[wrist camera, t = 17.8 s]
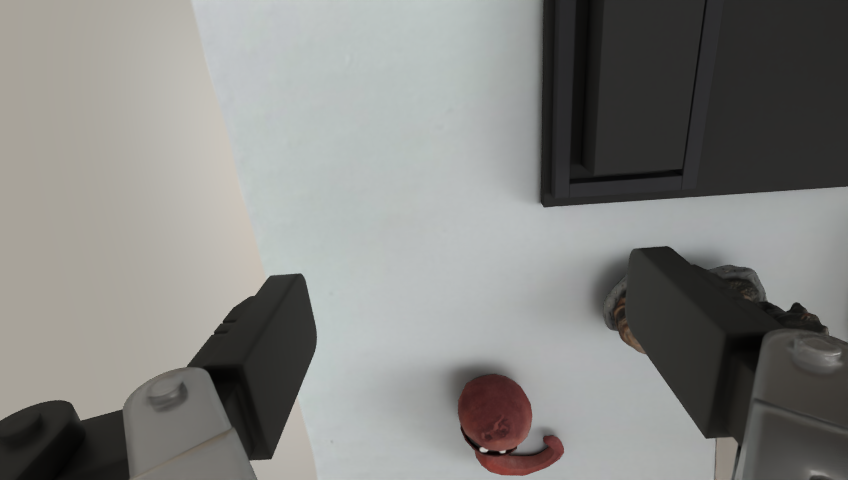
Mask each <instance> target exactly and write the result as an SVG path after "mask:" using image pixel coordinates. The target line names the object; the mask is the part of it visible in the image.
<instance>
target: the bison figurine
mask: <svg viewBox="0 0 848 480" xmlns="http://www.w3.org/2000/svg"><path fill="white" fill-rule="evenodd" d="M708 271H710V272H713V273H715V274H717V275H718V276H720V277H721V278H722V279H723V280H725V281H726V282H727V283H729V284H730V285H731V286H732V289H736V290H738V291H739V292H740V293H741V294H743V295H744V296H745V299H749V300H750V301H752V302H753V303H754V304H755V305H757V306H758V307H759V308H761V309H762V310H763V311H764V312H766V313H767V314H768V315H769V316H771V317H772V318H773V319H775V320H776V321H777V322H778V323H780V324H781V325H782V326H784V327H785V328H786V329H803V330H809V331H814V332H819V333H822V334H826V335H829V332H828V328H827V327H826V326H824V325H822V324H821V322H820V320H819V318H818V317H817V316H816V315H814V314H811V313H808V312H807V310H806V308H804V307H803V306H801V305H800V303H797V302H796V303H794V304H793V305H792V307H791V309H790V310H789V311H787V312H785V311H784V310H782V309H781V308H779V307H778V306H775V305H773V304H771V303H769V302H768V301H767V298H766V293H765V290H764V288H763V286H762V284H761V282H760V280H759V278H758V276H757V274H756V272H755V271H754V270H752V269H750V268H746V267H737V266H733V265H724V266H721V267H717V268H714V269H710V270H708ZM627 278H628V274H627V275H626V276H625V277H624V278H623V279H622V280H621V281H620V282H619V283H618V284H617V285H616V286H615V287H614V288H613V290H612V291H611V292H610V293H609V295H608V296H607V297H606V299H605V302H604V306H603V316H604V320H605V323H606V325H607V327H608V328H609V329H611V330H615V331H618V332H619V335H620V337H621V339H622V340H623V341H624V342H625V343H626V344H628V345H629V346H631V347H633V348H634V349H635V350H637V351H638V352H641V353H643V354H646V353H645V351H644V350H643V349H642V347H641V346H640V344H639V343H638V341H637V340H636V339H635V337H634V336H633V334H632V333H631V331H630V329H629V327H628V324H627V321H626V316H625V299H626V289H627Z"/></svg>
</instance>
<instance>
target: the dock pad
mask: <svg viewBox="0 0 848 480" xmlns="http://www.w3.org/2000/svg"><path fill="white" fill-rule="evenodd" d="M587 22H588V0H544V12H543V89H542V165H541V204H542V205H543V207H554V206H568V205H583V204H597V203H612V202H627V201H641V200H656V199H670V198H685V197H700V196H714V195H729V194H743V193H758V192H773V191H787V190H802V189H816V188H831V187H846V186H848V0H705V5H704V12H703V20H702V27H701V34H700V42H699V49H698V57H697V64H696V71H695V79H694V86H693V94H692V101H691V108H690V116H689V123H688V131H687V138H686V145H685V153H684V160H683V168H682V169H675V170H661V171H648V172H634V173H621V174H607V175H593V174H592V173H590V172H589V171H588V170H587V169H585V168H584V167H583V166H582V165H581V151H582V130H583V108H584V87H585V65H586V43H587Z"/></svg>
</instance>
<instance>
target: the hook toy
mask: <svg viewBox="0 0 848 480" xmlns="http://www.w3.org/2000/svg"><path fill="white" fill-rule="evenodd" d="M458 415H459V420H460V423H461V431H462V433H463V436H464V438H465V440H466V441H467V443H468V444H469V445H470V446H471V447H472V448H473V449H474V450H475V454H476V458H477V459H478V461H479V462H480V464H481V465H482V466H483V467H485V468H486V469H487V470H488V471H490V472H493V473H496V474H500V475H520V476H523V475H527V474H530V473H533V472H536V471H539V470H541V469H544V468H546V467H548V466H550V465H551V464H553V463H554V462H556V461H557V460H559V459H560V457H561V456H562V455H563V453H564V447H563V445H562V443H561V441H560V440H559V439H558V438H557V437H555V436H553V435H550V436H545V437H544V438H543V441H544V442H545V444H547V445H549V446H548V448H547V449H545V450H544V451H543V452H541V453H539V454H537V455H535V456H508V455H509V454H511V453H512V452H513V451H514V450H516V449H517V445H519V444H520V443H521V442H522V441H523V440H524V439H525V438H526V437H527V435H528V433H529V430H530V427H531V422H532V411H531V404H530V402H529V400H528V398H527V396H526V394H525V393H524V391H523V390H522V388H521V386H520V385H518V384H517V383H516V382H514V381H513V380H511V379H509V378H508V377H506V376H502V375H497V374H491V375H485V376H481V377H478V378H476V379H474V380H472V381H470V382H468V383H466V385H465V387H464V389H463V391H462V393H461V395H460V398H459V400H458Z"/></svg>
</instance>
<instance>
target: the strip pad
mask: <svg viewBox="0 0 848 480" xmlns="http://www.w3.org/2000/svg"><path fill="white" fill-rule="evenodd" d="M704 5H705V0H588V22H587V43H586V65H585V87H584V108H583V130H582V151H581V165H582V166H583V167H584V168H585V169H587V170H588V171H589V172H590V173H592V174H593V175H607V174H621V173H634V172H648V171H661V170H675V169H682V168H683V160H684V153H685V145H686V138H687V131H688V123H689V116H690V108H691V101H692V94H693V86H694V79H695V71H696V64H697V57H698V49H699V42H700V34H701V27H702V20H703V12H704Z"/></svg>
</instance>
